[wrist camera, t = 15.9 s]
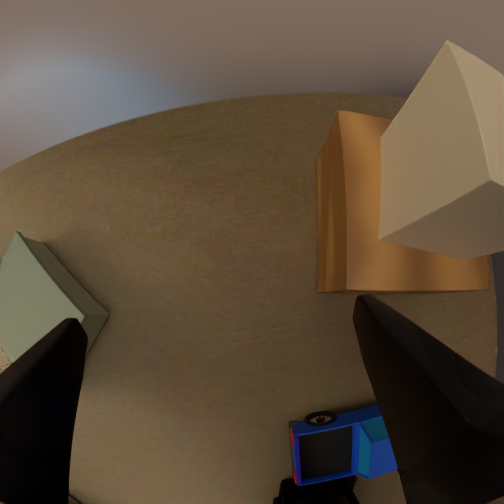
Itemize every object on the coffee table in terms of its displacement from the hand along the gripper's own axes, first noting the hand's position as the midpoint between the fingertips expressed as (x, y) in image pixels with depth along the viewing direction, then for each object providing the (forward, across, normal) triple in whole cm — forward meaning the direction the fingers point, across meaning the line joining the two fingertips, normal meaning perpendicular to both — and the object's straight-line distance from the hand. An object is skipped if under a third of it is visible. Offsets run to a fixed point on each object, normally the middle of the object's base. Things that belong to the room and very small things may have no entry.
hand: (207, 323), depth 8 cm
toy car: (+2, -9, +16) cm, 18 cm away
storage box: (+9, +17, +8) cm, 20 cm away
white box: (+6, -11, -1) cm, 13 cm away
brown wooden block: (+12, -12, +4) cm, 17 cm away
